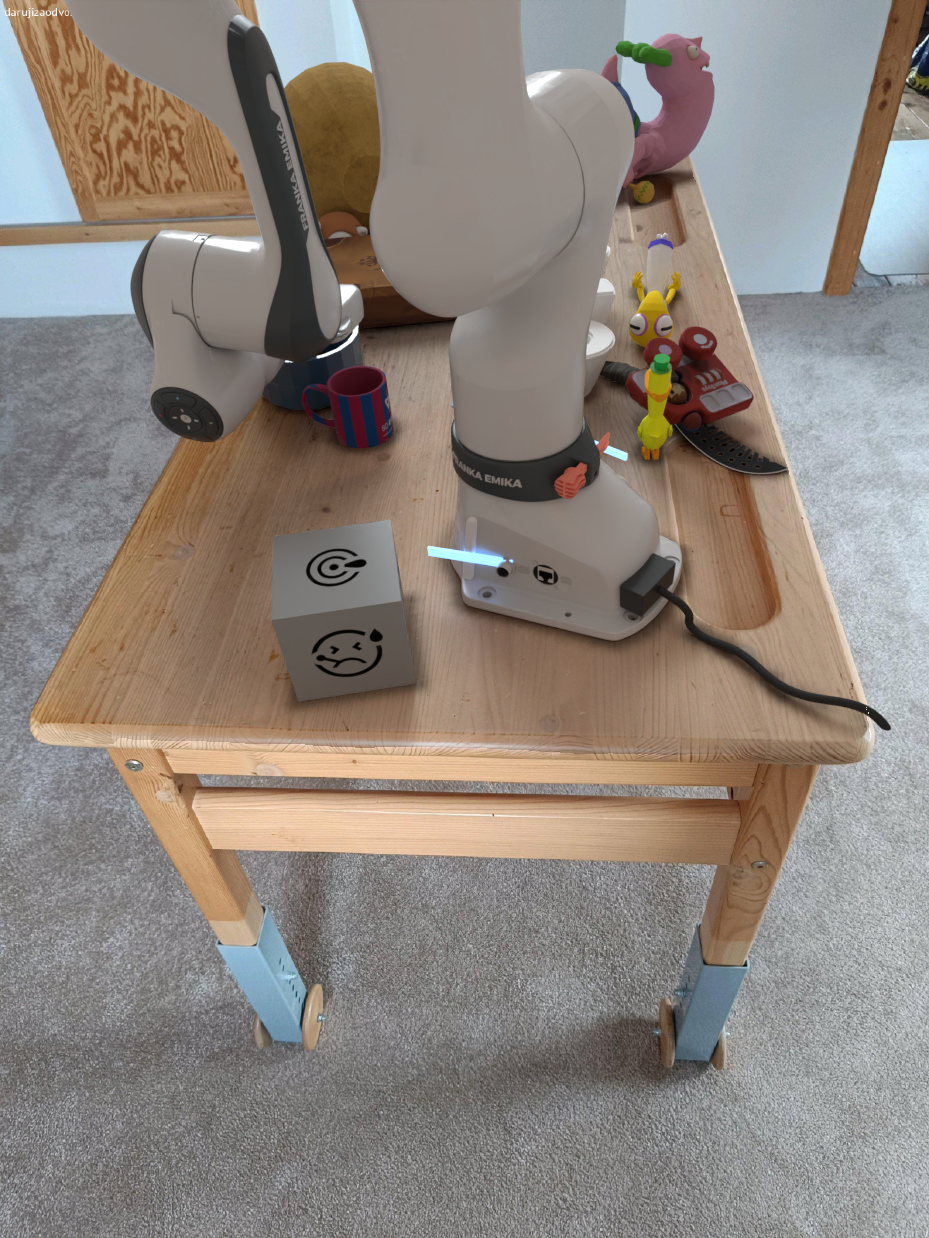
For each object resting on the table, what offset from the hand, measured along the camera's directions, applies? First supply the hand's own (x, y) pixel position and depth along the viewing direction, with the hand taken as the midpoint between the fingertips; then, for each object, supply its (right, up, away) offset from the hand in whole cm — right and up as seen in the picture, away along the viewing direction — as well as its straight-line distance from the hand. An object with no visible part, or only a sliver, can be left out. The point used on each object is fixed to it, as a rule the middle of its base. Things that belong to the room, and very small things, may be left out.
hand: (293, 277), depth 98 cm
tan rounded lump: (+6, +25, +27) cm, 38 cm away
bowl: (+1, -10, +9) cm, 14 cm away
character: (+45, 0, +15) cm, 47 cm away
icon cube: (+10, -43, -23) cm, 49 cm away
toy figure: (+40, -22, -6) cm, 46 cm away
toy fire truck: (+42, -10, -2) cm, 43 cm away
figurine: (-7, +15, +28) cm, 32 cm away
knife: (+42, -18, -3) cm, 46 cm away
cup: (+7, -18, +1) cm, 19 cm away
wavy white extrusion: (+31, -4, +12) cm, 34 cm away
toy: (+33, +46, +38) cm, 68 cm away
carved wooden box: (+10, +7, +24) cm, 27 cm away
